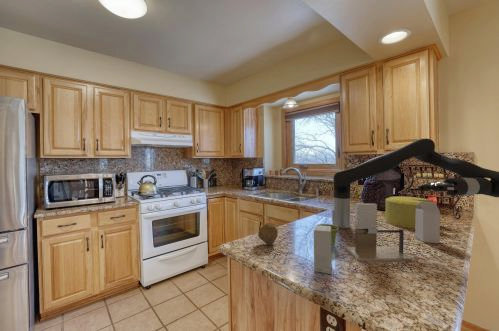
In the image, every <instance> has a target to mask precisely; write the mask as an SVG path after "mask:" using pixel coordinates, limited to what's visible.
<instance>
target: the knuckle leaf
mask: <svg viewBox="0 0 499 331" xmlns="http://www.w3.org/2000/svg"><path fill="white" fill-rule="evenodd" d="M377 215H378V204H377V203H355V225H354V226H355V229H366V230H368V233H376V234H378V233H377V230H378V227H377V226H378V225H377V223H378V222H377V220H378V216H377Z"/></svg>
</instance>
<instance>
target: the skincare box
mask: <svg viewBox="0 0 499 331" xmlns="http://www.w3.org/2000/svg"><path fill="white" fill-rule="evenodd" d="M332 248H333V247H331V226H322V225H319V224H317V225H315V226H314V229H313V269H314V270H313V271H314V272H315V273H316V272H317V273H323V274H328V275H332V266H333V265H332V264H333V263H332V260H333V258H332Z"/></svg>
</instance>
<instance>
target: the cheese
mask: <svg viewBox="0 0 499 331" xmlns="http://www.w3.org/2000/svg"><path fill="white" fill-rule="evenodd" d="M419 202H435V201H434V200H431V199H427V198H424V197H423V198H421V197H416V196H415V197H414V196H400V195H399V196H397V195H396V196H389V197H387V198H385V215H384V216H385V218H384V219H385V222H387V223H389V224H391V225H393V224H394V226H397V225H398V227H401V226H402V227H403V228H407V229H408V228H409V229H415V219H416V207H417V206H418V205H419Z"/></svg>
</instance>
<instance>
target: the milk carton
mask: <svg viewBox="0 0 499 331" xmlns="http://www.w3.org/2000/svg"><path fill="white" fill-rule="evenodd" d="M414 232H415V233H414V234H415V235H414V238H416V239H418V240H419V241H421V242H422V243H434V244H440V242H441V241H440V238H441V236H440V235H441V211H440V209H439V208H438V205H437V202H436V201H434V202H419V205H418V206H417V207H416V219H415V228H414Z"/></svg>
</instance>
